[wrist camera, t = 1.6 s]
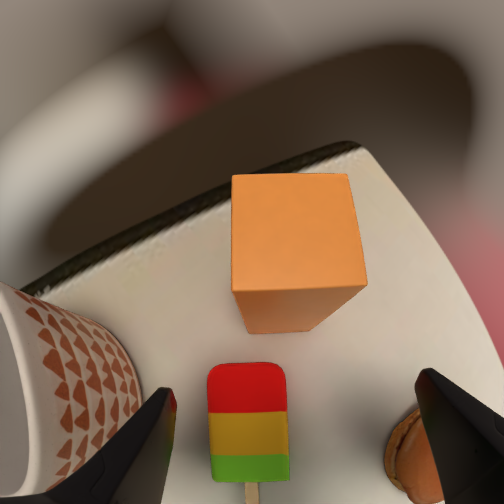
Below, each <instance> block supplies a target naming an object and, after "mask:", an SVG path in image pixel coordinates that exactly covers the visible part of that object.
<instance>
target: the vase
mask: <svg viewBox="0 0 504 504" xmlns="http://www.w3.org/2000/svg"><path fill="white" fill-rule="evenodd" d="M141 406H142V396H141V390H140V385H139V381H138V378H137V375H136V372H135V369H134V367H133V365H132V362H131V360H130V358H129V357H128V355H127V353H126V351H125V350H124V348H123V347H122V346H121V344H120V343H119V342H118V341H117V339H116V338H115V337H114V336H113V335H112V334H111V333H110V332H109V331H108V330H106V329H105V328H104V327H102V326H101V325H99V324H98V323H96V322H94V321H92V320H90V319H88V318H85V317H83V316H80V315H77V314H75V313H72V312H69V311H67V310H64V309H62V308H59V307H57V306H54V305H52V304H49V303H47V302H44V301H42V300H40V299H37V298H35V297H33V296H30V295H28V294H26V293H24V292H21V291H19V290H17V289H15V288H13V287H10V286H9V285H6V284H4V283H2V282H0V497H13V496H23V495H32V494H39V493H43V492H46V491H48V490H50V489H52V488H54V487H55V486H56V485H58V484H59V483H60V482H62V481H63V480H65V479H66V478H67V477H69V476H70V475H71V474H72V473H74V472H75V471H76V470H78V469H79V468H80V467H81V466H82V465H84V464H85V463H86V462H87V461H88V460H89V459H90V458H91V457H92V456H93V455H94V454H95V453H96V452H97V451H98V450H101V447H102V446H103V445H104V444H105V443H106V442H107V441H108V440H109V439H110V438H111V437H112V436H113V435H114V434H115V433H116V432H117V431H118V430H119V429H120V428H121V427H122V426H123V425H124V424H125V423H126V422H127V421H128V420H129V419H130V418H131V417H132V415H133V414H134V413H135V412H136V411H137V410H138V409H139V408H140V407H141Z"/></svg>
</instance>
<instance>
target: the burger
mask: <svg viewBox="0 0 504 504" xmlns="http://www.w3.org/2000/svg"><path fill="white" fill-rule="evenodd" d="M384 463H385V470H386V473H387V476H388V478H389V479H390V481H391V482H392V483H393V484H394V485H395V486H396V487H397V488H398V489H400V490H402V491H405V492H406V493H407V495H408V498H409V499H410V500H411V501H412V502H413V503H414V504H434V503H437V502H440V501H443V500H444V496H443V492H442V488H441V484H440V480H439V476H438V472H437V469H436V465H435V462H434V458H433V455H432V451H431V448H430V445H429V442H428V438H427V435H426V432H425V429H424V426H423V423H422V419H421V415H420V410H419V408H418V409H417V410H415V411H414V412H413V413H412V414H410V415H409V416H408V417H407V418H406V419H405V420H404V421H403V422H400V423H399V425H397V426H396V428H395V429H394V431H393V432H392V434H391V437H390V440H389V442H388V445H387V448H386V452H385V460H384Z"/></svg>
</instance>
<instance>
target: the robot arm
mask: <svg viewBox="0 0 504 504" xmlns="http://www.w3.org/2000/svg"><path fill="white" fill-rule="evenodd" d="M415 393H416V397H417V401H418V406H419V410H420V415H421V419H422V423H423V426H424V429H425V432H426V435H427V438H428V442H429V445H430V448H431V451H432V455H433V458H434V462H435V465H436V469H437V472H438V476H439V480H440V484H441V488H442V492H443V496H444V500H445V504H504V418H503V417H501V416H500V415H499V414H497V413H496V412H494V411H493V410H491V409H490V408H489V407H487V406H486V405H484V404H483V403H481V402H480V401H479V400H477V399H476V398H474V397H473V396H471V395H470V394H469V393H467V392H466V391H464V390H463V389H462V388H460V387H459V386H457V385H456V384H454V383H453V382H451V381H450V380H449V379H447V378H446V377H444V376H443V375H441V374H440V373H439V372H437V371H436V370H434V369H433V368H426V369H423V370H421V372H420V374H419V376H418V378H417V380H416V383H415ZM176 411H177V403H176V399H175V397H174V394H173V391H172V389H171V388H167V387H160V388H158V389H157V390H156V391H155V392H154V393H153V395H152V396H151V397H150V398H149V399H148V400H147V401H146V402H145V403H144V404H143V405H142V406H141V407H140V408H139V409H138V410H137V411H136V412H135V413H134V414H133V415H132V417H131V418H130V419H129V420H128V421H127V422H126V423H125V424H124V425H123V426H122V427H121V428H120V429H119V430H118V431H117V432H116V433H115V434H114V435H113V436H112V437H111V438H110V439H109V440H108V441H107V442H106V443H105V444H104V445H103V446H102V447H101V450H98V451H97V452H96V453H95V454H94V455H93V456H92V457H91V458H90V459H89V460H88V461H87V462H86V463H85V464H84V465H82V466H81V467H80V468H79V469H78V470H76V471H75V472H74V473H72V474H71V475H70V476H69V477H67V478H66V479H65V480H63V481H62V482H60V483H59V484H58V485H56V486H55V487H54V488H52V489H50V490H48V491H46V492H43V493H39V494H32V495H23V496H13V497H0V504H161V500H162V495H163V490H164V486H165V481H166V476H167V471H168V466H169V462H170V457H171V453H172V448H173V442H174V432H175V421H176Z"/></svg>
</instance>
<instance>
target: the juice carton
mask: <svg viewBox="0 0 504 504" xmlns="http://www.w3.org/2000/svg"><path fill="white" fill-rule="evenodd" d="M367 284H368V282H367V275H366V268H365V262H364V255H363V249H362V244H361V238H360V232H359V227H358V222H357V217H356V212H355V207H354V202H353V198H352V193H351V189H350V184H349V180H348V176H347V174H334V173H284V174H249V175H233V176H232V201H231V291H232V293H233V296H234V298H235V301H236V303H237V306H238V308H239V311H240V313H241V315H242V318H243V320H244V323H245V325H246V328H247V330H248V333H249V334H260V333H285V332H303V331H310V330H311V329H313V328H314V327H315V326H317V325H318V324H319V323H321V322H322V321H323V320H324V319H326V318H327V317H328V316H330V315H331V314H332V313H334V312H335V311H336V310H337V309H339V308H340V307H341V306H342V305H344V304H345V303H346V302H347V301H349V300H350V299H351V298H352V297H354V296H355V295H356V294H357V293H358V292H360V291H361V290H362V289H363V288H364V287H366V286H367Z"/></svg>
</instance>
